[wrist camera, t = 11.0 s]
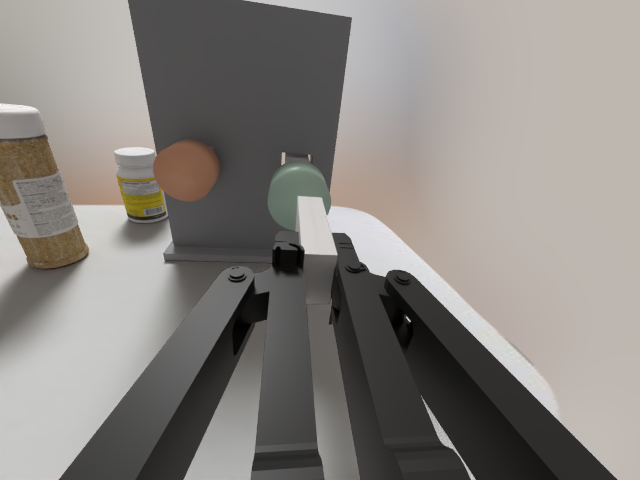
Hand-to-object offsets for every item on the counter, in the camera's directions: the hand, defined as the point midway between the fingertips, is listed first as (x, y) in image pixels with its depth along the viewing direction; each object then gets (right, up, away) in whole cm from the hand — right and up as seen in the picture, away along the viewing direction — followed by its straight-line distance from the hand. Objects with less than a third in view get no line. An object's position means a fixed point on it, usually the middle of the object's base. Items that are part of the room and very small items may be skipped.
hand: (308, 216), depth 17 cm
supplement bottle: (-22, +1, +19) cm, 29 cm away
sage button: (-1, +2, +8) cm, 8 cm away
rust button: (-11, +5, +10) cm, 16 cm away
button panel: (-7, -2, +14) cm, 16 cm away
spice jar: (-25, -3, +9) cm, 27 cm away
